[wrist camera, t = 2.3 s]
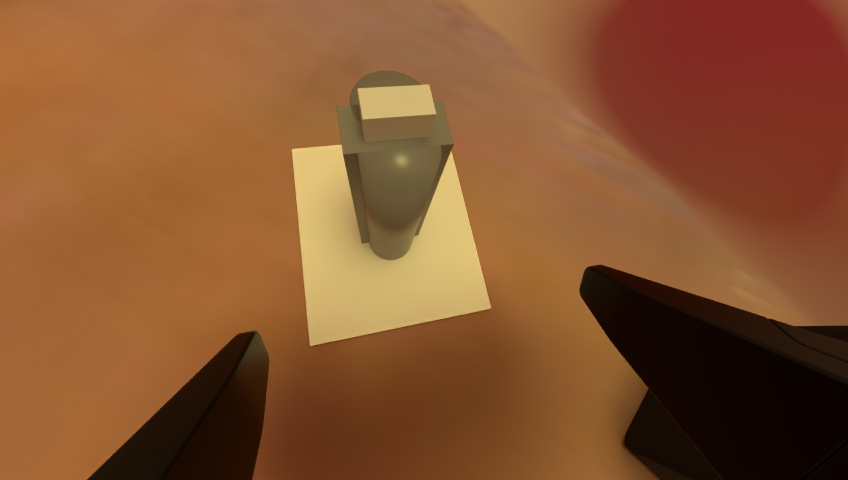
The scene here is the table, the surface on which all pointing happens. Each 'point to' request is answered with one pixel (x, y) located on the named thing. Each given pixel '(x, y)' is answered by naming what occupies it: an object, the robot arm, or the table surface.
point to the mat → (371, 275)
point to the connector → (393, 157)
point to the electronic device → (681, 434)
